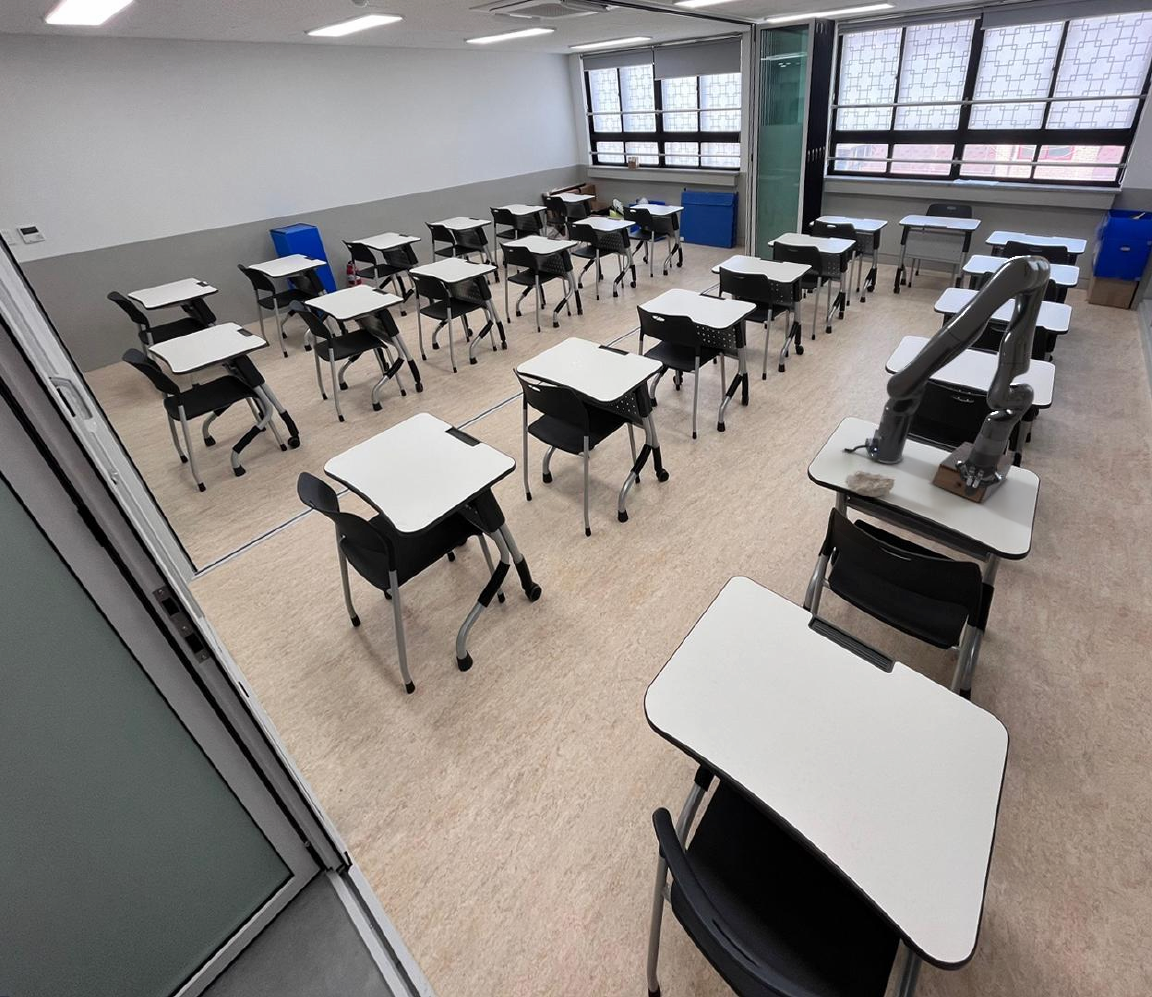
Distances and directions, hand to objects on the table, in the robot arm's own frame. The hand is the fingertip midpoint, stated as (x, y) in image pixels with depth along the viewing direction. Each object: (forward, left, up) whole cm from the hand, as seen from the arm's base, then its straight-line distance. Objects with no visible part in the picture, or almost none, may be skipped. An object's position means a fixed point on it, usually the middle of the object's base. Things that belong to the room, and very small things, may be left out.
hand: (968, 494), depth 177 cm
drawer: (+3, +9, -2) cm, 10 cm away
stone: (-28, +6, -3) cm, 29 cm away
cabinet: (+5, +11, -3) cm, 12 cm away
